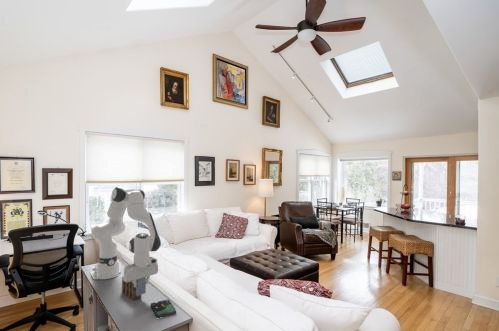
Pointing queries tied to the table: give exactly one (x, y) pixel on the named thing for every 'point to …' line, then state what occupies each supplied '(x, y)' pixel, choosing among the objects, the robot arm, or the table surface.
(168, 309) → the disk drive
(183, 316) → the table surface
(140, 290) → the end domino
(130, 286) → the domino
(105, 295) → the table surface
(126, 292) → the domino
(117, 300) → the table surface
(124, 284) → the domino
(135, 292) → the domino
